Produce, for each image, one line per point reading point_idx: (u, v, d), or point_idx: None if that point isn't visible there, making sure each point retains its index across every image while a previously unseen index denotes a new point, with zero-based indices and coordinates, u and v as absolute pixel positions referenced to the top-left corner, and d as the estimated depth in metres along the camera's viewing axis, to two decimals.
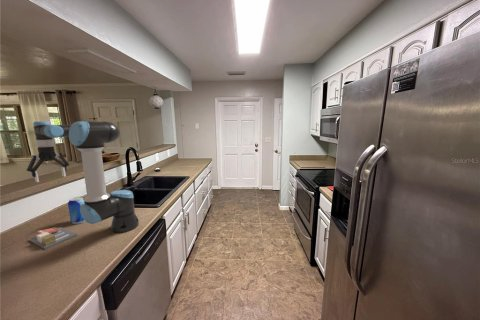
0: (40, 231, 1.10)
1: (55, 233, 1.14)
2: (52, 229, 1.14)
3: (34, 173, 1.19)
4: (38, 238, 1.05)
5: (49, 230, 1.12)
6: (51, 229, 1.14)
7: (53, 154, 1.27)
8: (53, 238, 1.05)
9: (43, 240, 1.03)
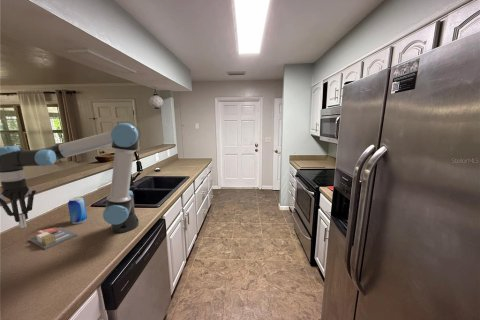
0: (40, 231, 1.10)
1: (55, 233, 1.14)
2: (52, 229, 1.14)
3: (17, 217, 0.93)
4: (38, 238, 1.05)
5: (49, 230, 1.12)
6: (51, 229, 1.14)
7: (25, 189, 0.94)
8: (53, 238, 1.05)
9: (43, 240, 1.03)
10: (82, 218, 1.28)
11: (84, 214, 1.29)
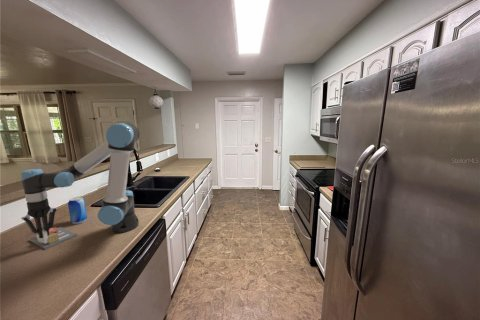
0: None
1: None
2: (52, 229, 1.14)
3: (41, 234, 1.01)
4: (38, 238, 1.05)
5: (49, 230, 1.12)
6: (51, 229, 1.14)
7: (47, 207, 1.02)
8: (56, 237, 1.06)
9: None
10: (82, 218, 1.28)
11: (84, 214, 1.29)
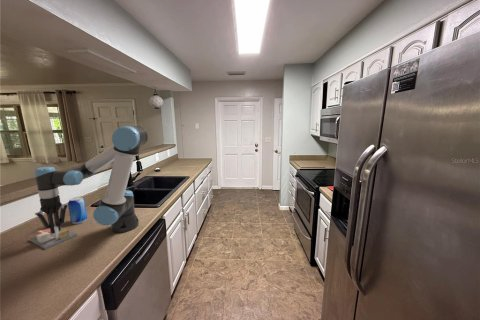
0: (40, 231, 1.10)
1: None
2: None
3: (53, 229, 1.05)
4: (38, 238, 1.05)
5: (49, 230, 1.12)
6: None
7: (59, 204, 1.07)
8: (67, 232, 1.10)
9: None
10: (82, 218, 1.28)
11: (84, 214, 1.29)
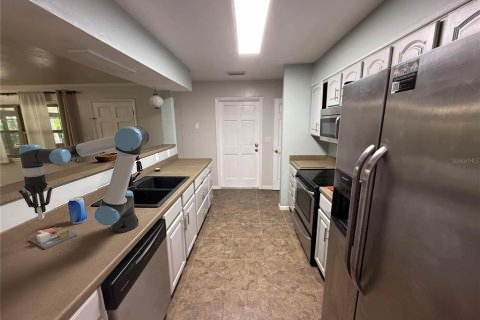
0: (40, 231, 1.10)
1: (55, 233, 1.14)
2: (52, 229, 1.14)
3: (36, 209, 1.02)
4: (38, 238, 1.05)
5: (49, 230, 1.12)
6: (51, 229, 1.14)
7: (43, 184, 1.01)
8: (67, 232, 1.10)
9: (58, 234, 1.08)
10: (82, 218, 1.28)
11: (84, 214, 1.29)
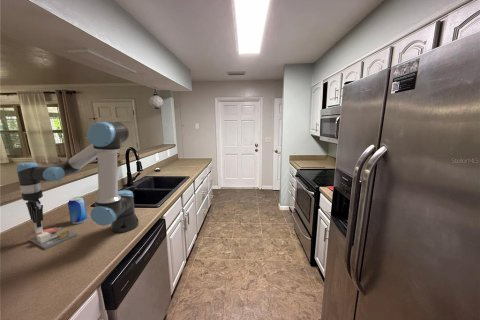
0: None
1: (55, 233, 1.14)
2: (52, 229, 1.14)
3: None
4: (38, 238, 1.05)
5: (49, 230, 1.12)
6: (51, 229, 1.14)
7: (33, 202, 1.04)
8: (67, 232, 1.10)
9: (58, 234, 1.08)
10: (82, 218, 1.28)
11: (84, 214, 1.29)
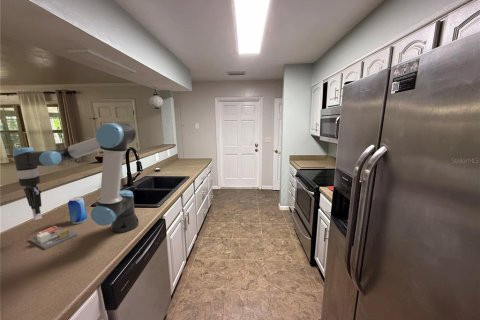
0: (40, 233, 1.10)
1: (55, 233, 1.14)
2: (52, 228, 1.14)
3: None
4: (38, 238, 1.05)
5: (49, 230, 1.12)
6: (51, 228, 1.14)
7: (30, 187, 1.02)
8: (67, 232, 1.10)
9: (58, 234, 1.08)
10: (82, 218, 1.28)
11: (84, 214, 1.29)
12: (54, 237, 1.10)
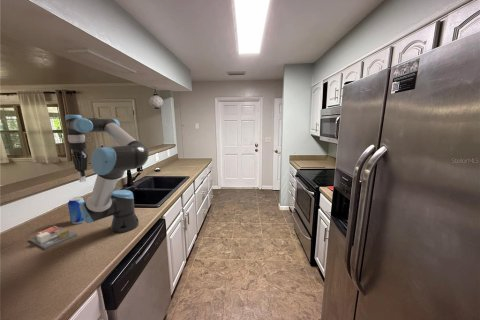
0: (40, 233, 1.10)
1: (55, 233, 1.14)
2: (52, 228, 1.14)
3: None
4: (38, 238, 1.05)
5: (49, 230, 1.12)
6: (51, 228, 1.14)
7: (79, 151, 1.13)
8: (67, 232, 1.10)
9: (58, 234, 1.08)
10: (82, 218, 1.28)
11: None
12: (54, 237, 1.10)
